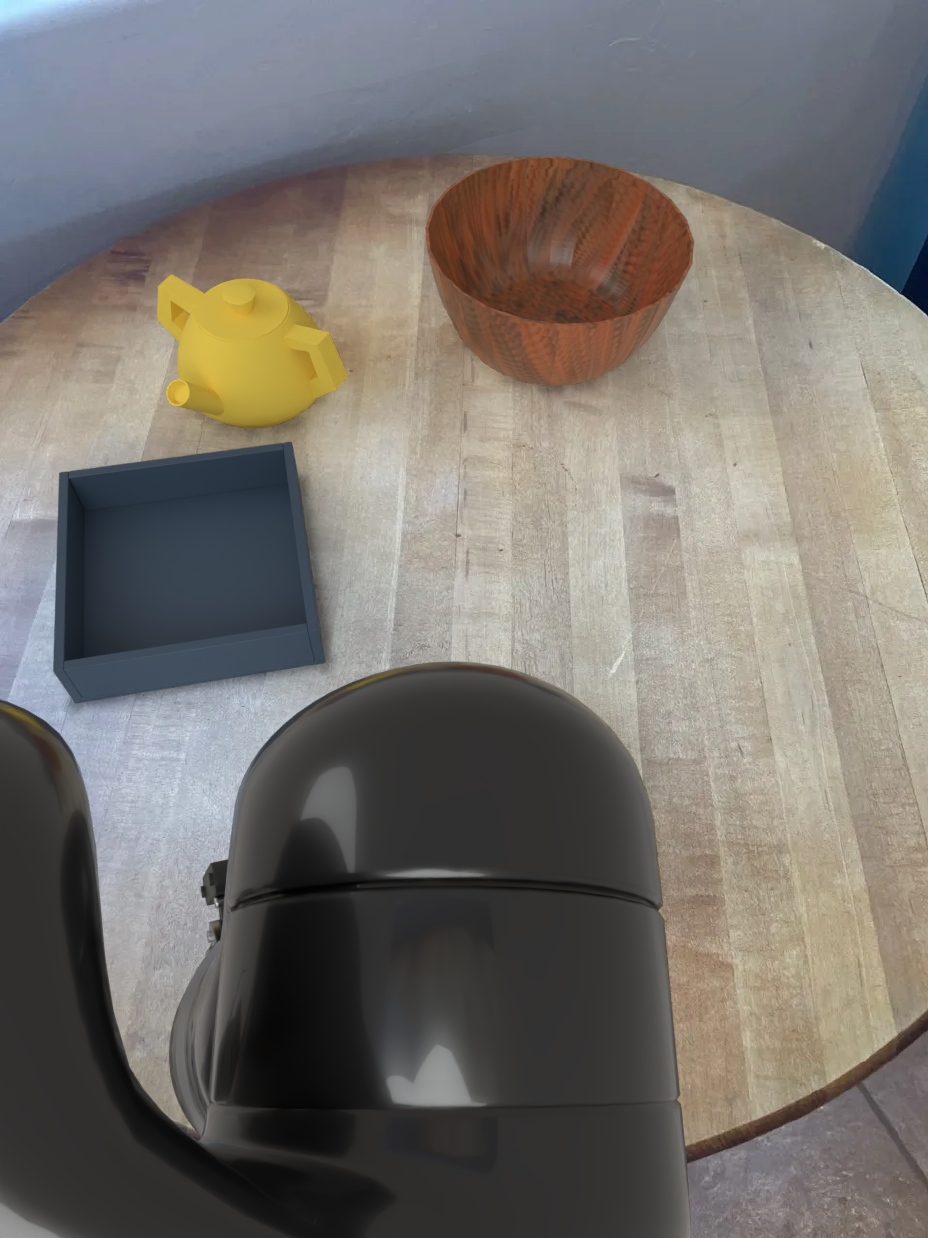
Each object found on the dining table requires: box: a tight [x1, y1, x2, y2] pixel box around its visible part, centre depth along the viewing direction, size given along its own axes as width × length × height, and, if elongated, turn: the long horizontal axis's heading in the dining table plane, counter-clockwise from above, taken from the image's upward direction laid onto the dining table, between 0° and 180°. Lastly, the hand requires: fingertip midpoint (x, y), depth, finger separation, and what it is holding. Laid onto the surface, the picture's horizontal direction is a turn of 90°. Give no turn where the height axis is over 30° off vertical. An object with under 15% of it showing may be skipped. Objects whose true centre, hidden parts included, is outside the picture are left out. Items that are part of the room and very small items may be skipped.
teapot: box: [156, 273, 349, 429], centre depth 88 cm, size 20×18×11 cm
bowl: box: [424, 155, 695, 387], centre depth 94 cm, size 25×25×11 cm
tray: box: [52, 441, 326, 704], centre depth 79 cm, size 20×20×5 cm
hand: (250, 1048), depth 43 cm, fingers open, 8 cm apart
